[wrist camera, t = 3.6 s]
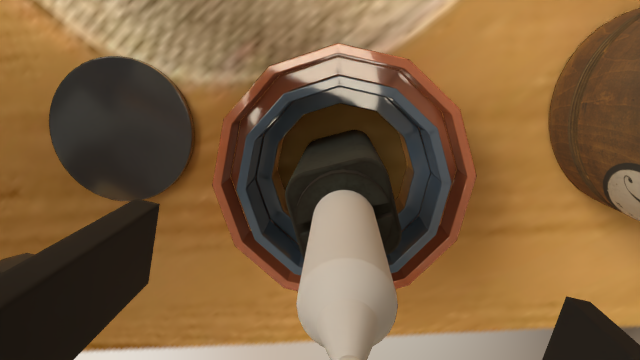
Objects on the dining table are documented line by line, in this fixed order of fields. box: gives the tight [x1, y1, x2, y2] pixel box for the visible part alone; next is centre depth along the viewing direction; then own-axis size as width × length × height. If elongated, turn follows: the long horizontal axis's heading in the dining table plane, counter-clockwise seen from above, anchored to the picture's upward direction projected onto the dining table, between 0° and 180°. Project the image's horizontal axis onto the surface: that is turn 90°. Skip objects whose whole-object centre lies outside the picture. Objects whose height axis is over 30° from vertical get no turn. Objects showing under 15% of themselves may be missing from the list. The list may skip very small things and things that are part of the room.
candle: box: [285, 130, 402, 360], centre depth 21 cm, size 5×5×25 cm
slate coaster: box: [49, 56, 194, 201], centre depth 33 cm, size 11×11×1 cm
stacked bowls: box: [212, 43, 476, 291], centre depth 30 cm, size 17×17×6 cm
